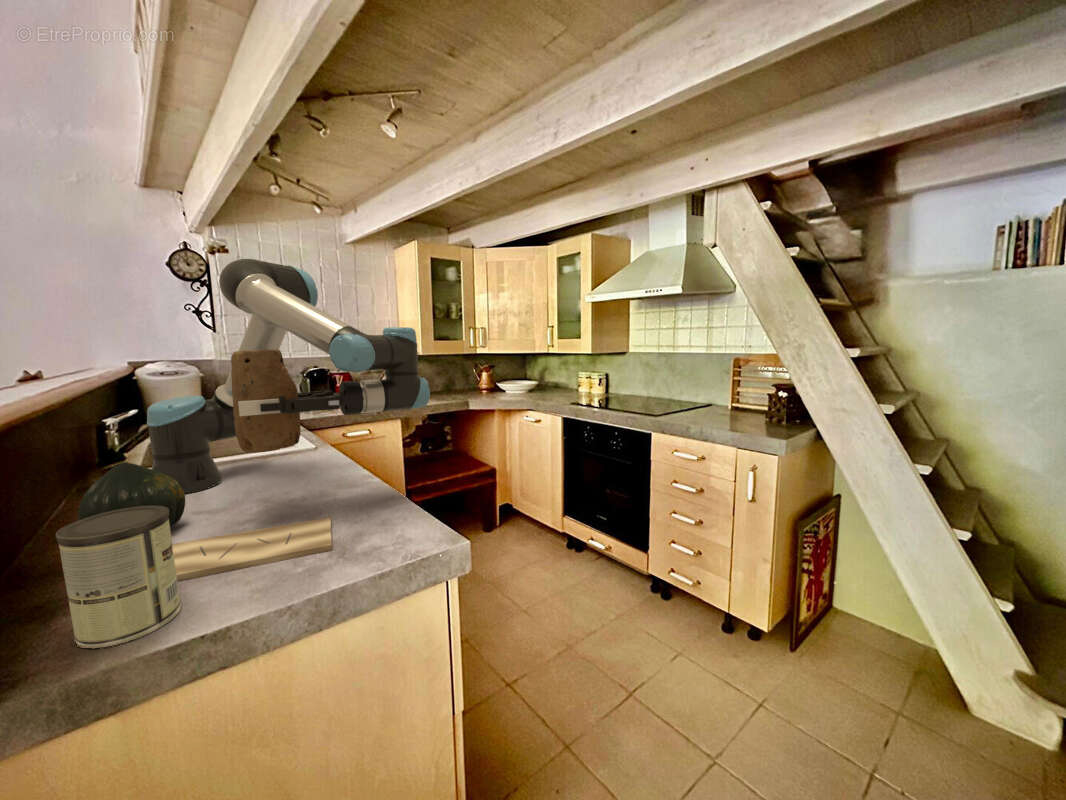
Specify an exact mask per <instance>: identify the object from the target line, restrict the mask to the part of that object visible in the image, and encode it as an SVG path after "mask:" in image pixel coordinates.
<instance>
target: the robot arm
mask: <svg viewBox="0 0 1066 800" xmlns="http://www.w3.org/2000/svg"><path fill="white" fill-rule="evenodd" d="M218 284H219V289H220V292H221V294H222V295H223V296H224V298H225V299H226V300H227V302H229V303H230V304H231V305H232V306H234V307H236V308H237V309H239V310H241V311H243V312H244V313H246V314H249V315H251V317H250V320H249V323H248V326H247V328H246V331H245V332H244V335H243V338H242V341H241V344H240V346H239V348H238V351H257V350H260V349H269V350H275V349H278V350H280V349H281V347H282V346H281V345H283V344H282V343H283V341H284V338H285V337H286V334H287V332H288V333H290V334H293V335H294V336H296V337H297V338H299V339H301V340H303V341H304V342H306V343H308V344H310V345H312V346H314V347H315V348H317V349H319V350H321V351H322V352H324V353H326V354H327V355H329V359H330V361H331V362H332V363H333V365H334V367H335V368H337V370H339V371H341V372H346V373H348V372H349V373H350V372H351V373H362V372H367V371H368V372H369V371H381V370H382V371H383V370H384V376H385V378H384V379H378V378H377V379H362V380H360V381H357V380H347V381H345V380H344V381H341V382H340V383H339V386H338V392H334V390H331V389H323V390H318V391H317V390H316V391H310V392H309V391H308V392H297V393H298V398H292V399H285V396H279V397H280V402H279V399H268V400H253V401H239V402H238V405H239V415H240V416H250V415H261V414H273V413H280V410H281V413H287V414H291V413H298V412H300V413H306V412H316V411H323V410H328V411H332V410H338V409H340V411H341V413H342V415H344V416H352V415H353V416H354V415H360V414H361V413H363V414H372V415H373V416H376V415H377V412H378V413H379V412H380V413H381V412H384V413H385V412H394V411H406V410H408V411H410V410H414V409H421V408H424V407H426V406H427V405H428V404H429V402H430V398H431V390H430V387H429V386H430V384H429V382H428V380H427V378H425V377H421V376H420V375H419V361H418V359H419V358H418V341H417V334H416V333H417V332H416V330H415V329H414V328H413V327H403V326H402V327H401V326H400V327H398V326H397V327H396V326H392V327H391V326H390V327H389V326H388V327H385V328H383V330H382V334H367V333H365V332H363V331H361V330H359V329H357V328H355V327H353V326H352V325H349V324H348V323H346V322H344V321H342V320H340V319H339V318H338V317H335V316H333V315H332V314H330V313H328V312H325V311H324V310H322V309H320V308H319V307H316V306H317V304H318V301H319V292H318V288H317V285H316V282H315V280H314V278H313V277H312V276H311V275H310V273H308V272H307V271H305V270H304V269H301V268H297V267H294V266H293V265H285V264H279V263H273V262H270V261H269V262H268V261H263V260H259V259H253V258H240V259H237V260H234V261H231V262H230V263H228V264H226V265H225V267H223V269H222V270H221V273H220V274H219V279H218ZM146 413H147V414H146V420H147V421H146V425H147V427H148V434H149V442H150V449H151V450H150V451H151V455H152V465H151V469H152V470H155V471H158V472H160V473H163V474H165V475H168V476H170V477H171V478H173V479H175V480H176V481H177V482H178V483H179V485H180V486H181V487H182V489H183V491H184V494H185V495H187V494H191V492H192V493H195V491H196V492H200V491H203V490H202V489H204V490H207V489H209V488H208V487H210V488H212V487H211V486H213V485H215V484H217V483H219V482H220V481H221V480H222V474H221V471H220V469H219V468H218V466H217V464H216V462H215V460H214V458H213V457H212V454H211V446H210V443H213V442H218V441H224V440H228V439H233V438H237V437H236V432H235V424H234V413H233V396H232V378H231V370H230V372H229V374H228V377H227V379H226V382H225V384H221V385H220V386H218V387H217V388H216V390H215V392H214V394H213V397H212V398H211V399H205V397H204V396H202V395H189V396H187V395H186V396H181V397H174V398H169V399H164V400H160V401H158V402H154V403H152V404H151V405H150V406H149V407H148V408H147V411H146ZM221 482H222V481H221ZM219 484H220V483H219ZM213 487H214V486H213ZM206 488H207V489H206ZM199 490H200V491H199ZM186 493H187V494H186Z"/></svg>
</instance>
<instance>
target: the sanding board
mask: <svg viewBox="0 0 1066 800" xmlns="http://www.w3.org/2000/svg"><path fill="white" fill-rule="evenodd" d="M331 520H332V519H331V517H329V516H328V517H322V518H317V519H312V520H306V521H299V522H293V523H288V524H283V525H282V524H281V525H277V526H271V527H270V526H269V527H265V528H260V529H251V530H247V531H242V532H235V533H229V534H223V535H219V536H212V537H211V536H210V537H207V538H200V539H196V540H188V541H183V542H177V543H172V546H173V554H174V561H175V568H176V576H177V582H180V581H184V580H190V579H194V578H199V577H200V578H201V577H206V576H209V575H210V576H211V575H214V574H219V573H220V574H221V573H225V572H229V571H235V570H241V569H245V568H249V567H255V566H260V565H265V564H270V563H274V562H280V561H285V560H289V559H295V558H299V557H305V556H309V555H314V554H320V553H325V552H328V551H332V550H333V549H332V548H333V545H332V544H333V542H332V541H333V540H332V521H331Z"/></svg>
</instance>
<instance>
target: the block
mask: <svg viewBox="0 0 1066 800" xmlns="http://www.w3.org/2000/svg"><path fill="white" fill-rule="evenodd" d="M230 363H231V364H230V365H231V369H230V371H231V378H232V396H233V413H234V424H235V432H236V437H235V438H236V440H237V443H238V445H239V448H240V450H242V451H243V452H245V453H251V454H252V453H255V454H256V453H266V452H274V451H279V450H281V449H286V448H291V447H293V446H295V445H297V444H298V443H300V442H299V441H300V438H301V412H298V413H291V414H287V413H281V410H280V413H273V414H261V415H250V416H240V415H239V405H238V402H239V401H253V400H268V399H279V402H280V397H279V396H285V399H292V398H298V393H299V392H298V389H297V385H296V383H295V381H294V380H293V378H292V377H291V374H290V372H289V370H288V369H287V367H286V366H285V363H284V359H283V354H282V351H281V350H280V349H279V350H278V349H275V350H269V349H260V350H257V351H239V350H238V351H237V350H235V351H234V352H233V353H232V354H231V357H230Z"/></svg>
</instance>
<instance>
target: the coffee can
mask: <svg viewBox="0 0 1066 800" xmlns="http://www.w3.org/2000/svg"><path fill="white" fill-rule="evenodd" d="M168 516H169V509H168V508H167V507H164V506H154V505H152V506H138V507H130V508H124V509H119V510H113V511H109V512H104V513H101V514H97V515H93V516H90V517H87V518H84V519H81V520H79V519H77V520H75V521H74V522H71V523H68V524H66V525H65V526H62V527H61V528H60V529H58V530H57V531H56V533H55V539H56V541H57V542H58V543H57V544H58V548H59V553H60V554H59V555H60V559H61V564H62V565H61V566H62V572H63V578H64V584H65V588H66V593H67V600H68V604H69V605H68V606H69V612H70V616H71V623H72V629H73V635H74V642H75V641H76V643H77V644H78V645H82V646H85V647H98V646H99V647H100V646H101V647H102V646H111V645H116V644H120V643H123V644H126V643H129V642H131V641H130V640H132V641H134V639H135V640H137V638H138V639H140V638H142V637H144V636H147V635H149V634H151V633H154V632H155V631H157V630H159V629H160V628H162V627H164V626H166V625H167V624H168V623H169V622H171V621H172V620H173V619H174V618H175V617H177V616H178V614H179V612H180V611H181V609H182V603H181V599H180V593H179V592H180V591H179V585H178V581H177V576H176V568H175V561H174V554H173V546H172V544H173V540H172V539H173V538H172V534H171V532H172V531H171V527H170V525H169V517H168ZM128 641H129V642H128ZM125 642H126V643H125ZM120 645H121V644H120ZM116 646H117V645H116Z"/></svg>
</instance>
